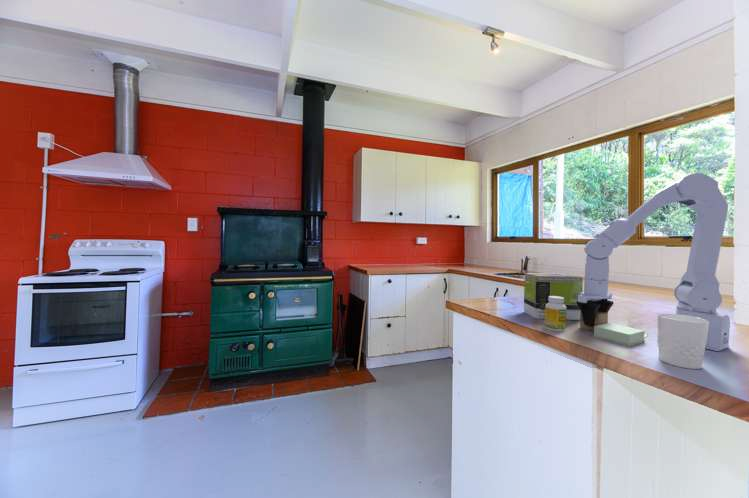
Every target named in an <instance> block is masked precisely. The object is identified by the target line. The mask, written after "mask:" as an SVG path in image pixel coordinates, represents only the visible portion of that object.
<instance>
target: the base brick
mask: <svg viewBox="0 0 749 498" xmlns="http://www.w3.org/2000/svg"><path fill="white" fill-rule="evenodd" d="M644 334H645V330H643V329H640V328H639V329H638V328H633V327H629V326H624V325H620V324H617V323H612V322H608V323H607V324H602V325H597V326H594V331H593V335H592V336H593V338H597V339H601V340H605V341H608V342H612V343H616V344H619V345H623V346H625V347H626V346H627V347H632V346H635V345H639V344H641V343H645V341H646V340H645V338H644Z"/></svg>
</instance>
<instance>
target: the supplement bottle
mask: <svg viewBox="0 0 749 498" xmlns="http://www.w3.org/2000/svg"><path fill="white" fill-rule="evenodd" d="M548 301H549V303H547V304H546V307H545V319H544V328H545V329H546V330H549V331H554V332H565V331H566V325H567V323H566V322H567V320H566V306H565V305H564V304H563V303H564V298H563V297H559V296H549V297H548Z"/></svg>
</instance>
